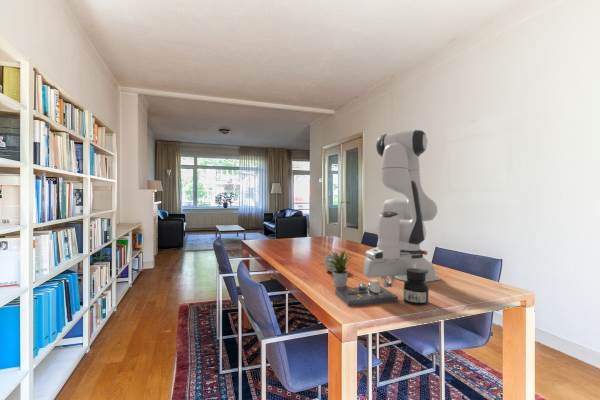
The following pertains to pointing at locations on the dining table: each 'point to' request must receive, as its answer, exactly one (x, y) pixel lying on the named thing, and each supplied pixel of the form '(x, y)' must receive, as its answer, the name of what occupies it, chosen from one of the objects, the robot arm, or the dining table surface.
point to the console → (365, 295)
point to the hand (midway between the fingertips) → (387, 286)
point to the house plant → (339, 269)
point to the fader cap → (374, 286)
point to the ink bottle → (416, 287)
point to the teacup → (328, 258)
